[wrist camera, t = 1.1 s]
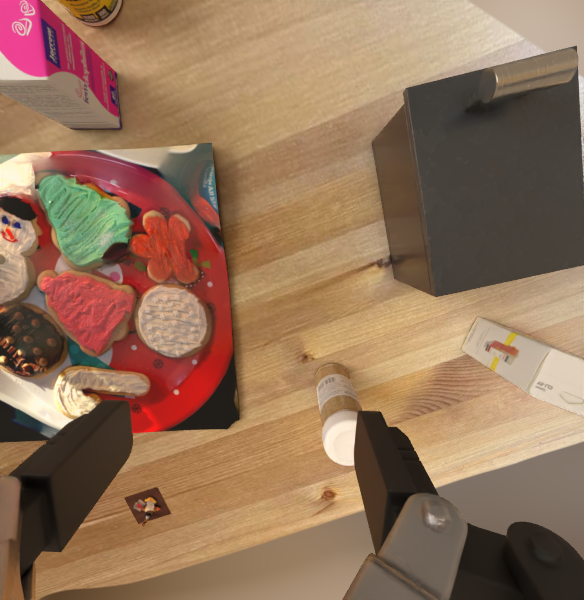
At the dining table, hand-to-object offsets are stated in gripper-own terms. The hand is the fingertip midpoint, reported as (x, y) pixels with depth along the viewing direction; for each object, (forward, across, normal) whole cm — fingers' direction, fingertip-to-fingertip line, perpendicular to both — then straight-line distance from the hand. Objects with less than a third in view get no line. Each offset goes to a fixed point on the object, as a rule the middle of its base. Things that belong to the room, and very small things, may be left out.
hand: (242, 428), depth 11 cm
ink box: (+29, -27, +6) cm, 40 cm away
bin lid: (+18, -18, -11) cm, 28 cm away
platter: (+28, +24, +4) cm, 37 cm away
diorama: (+28, +18, +32) cm, 46 cm away
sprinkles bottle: (+28, -7, +12) cm, 32 cm away
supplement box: (+29, +21, -19) cm, 41 cm away
